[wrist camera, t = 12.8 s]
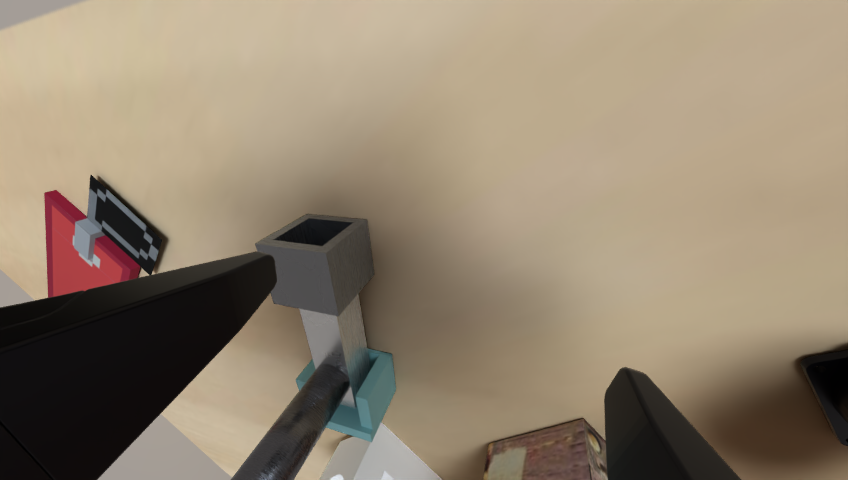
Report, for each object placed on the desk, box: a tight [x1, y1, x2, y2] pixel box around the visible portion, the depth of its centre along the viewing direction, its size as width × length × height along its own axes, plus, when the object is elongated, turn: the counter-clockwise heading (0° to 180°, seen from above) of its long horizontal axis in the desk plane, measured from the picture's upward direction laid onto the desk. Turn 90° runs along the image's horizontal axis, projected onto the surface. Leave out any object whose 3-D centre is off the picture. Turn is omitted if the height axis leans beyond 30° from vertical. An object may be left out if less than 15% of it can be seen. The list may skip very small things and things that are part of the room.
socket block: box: [296, 348, 396, 442], centre depth 27 cm, size 4×6×5 cm
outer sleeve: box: [255, 214, 374, 316], centre depth 21 cm, size 4×5×5 cm
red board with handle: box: [44, 175, 162, 298], centre depth 36 cm, size 30×3×15 cm
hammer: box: [231, 294, 371, 480], centre depth 21 cm, size 12×3×12 cm, turn 3°
